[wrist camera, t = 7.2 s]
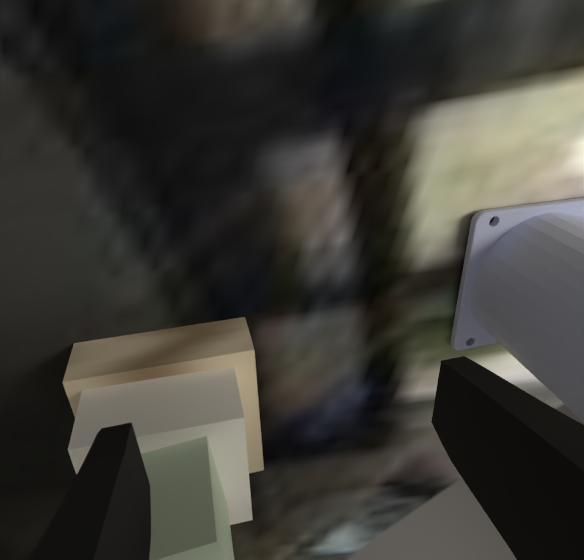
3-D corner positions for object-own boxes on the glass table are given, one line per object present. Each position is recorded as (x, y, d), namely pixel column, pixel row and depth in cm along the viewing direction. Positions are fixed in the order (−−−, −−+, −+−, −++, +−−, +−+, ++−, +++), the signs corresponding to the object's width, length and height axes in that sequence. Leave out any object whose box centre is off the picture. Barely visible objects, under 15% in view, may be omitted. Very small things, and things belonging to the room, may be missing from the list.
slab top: (234, 365, 19) (244, 417, 16) (242, 463, 22) (252, 520, 19) (81, 390, 18) (67, 450, 15) (112, 489, 21) (104, 554, 18)
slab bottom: (243, 312, 21) (254, 349, 19) (253, 425, 25) (263, 470, 23) (75, 337, 20) (62, 382, 17) (112, 454, 24) (105, 505, 21)
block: (206, 436, 16) (216, 541, 13) (227, 503, 18) (240, 610, 15) (93, 466, 16) (72, 585, 12) (127, 532, 18) (117, 650, 14)
